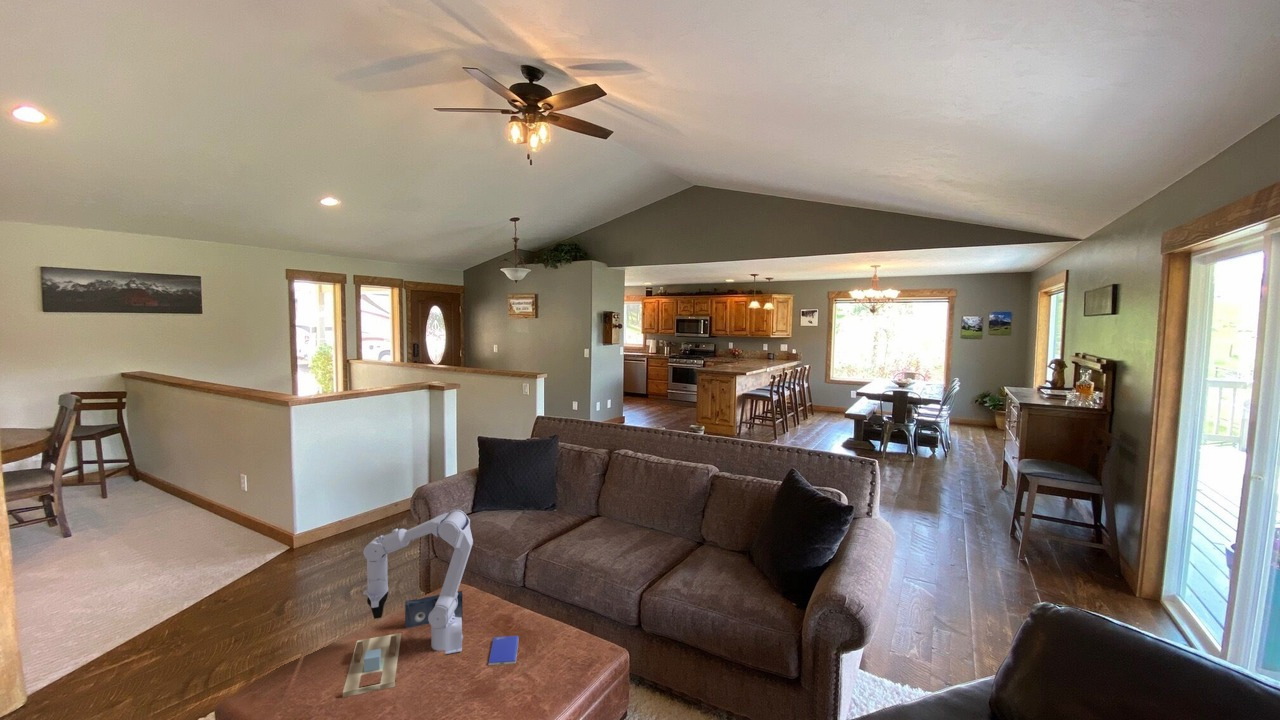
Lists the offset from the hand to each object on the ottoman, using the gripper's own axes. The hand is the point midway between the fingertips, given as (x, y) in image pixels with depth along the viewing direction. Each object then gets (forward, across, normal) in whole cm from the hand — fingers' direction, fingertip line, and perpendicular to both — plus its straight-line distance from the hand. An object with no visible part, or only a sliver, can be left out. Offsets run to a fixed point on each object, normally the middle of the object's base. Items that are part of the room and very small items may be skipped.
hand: (378, 617), depth 162 cm
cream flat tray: (+10, +9, 0) cm, 13 cm away
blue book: (+11, +15, +38) cm, 42 cm away
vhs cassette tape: (+10, -7, +16) cm, 21 cm away
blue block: (+8, +12, 0) cm, 15 cm away
